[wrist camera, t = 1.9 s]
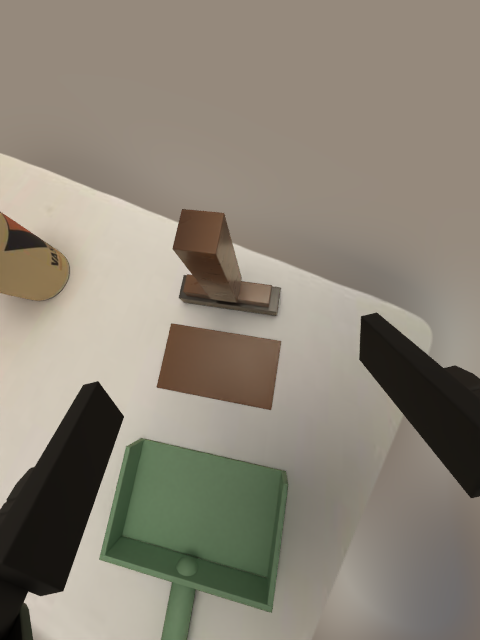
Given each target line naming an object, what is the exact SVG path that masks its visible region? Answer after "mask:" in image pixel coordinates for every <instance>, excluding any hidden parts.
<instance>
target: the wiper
mask: <svg viewBox="0 0 480 640" xmlns="http://www.w3.org/2000/svg"><path fill="white" fill-rule="evenodd" d="M173 250H174V251H175V253H176V254H177V255H178V257H179V258H180V259H181V260H182V262H183V263H184V264H185V266H186V267H187V268H188V270H189V271H190V272H191V273H192V275H188V274H187V275H184V277H183V281H182V286H181V290H180V295H179V298H180V299H181V300H182V301H183V302H186V303H192V304H199V305H206V306H213V307H220V308H227V309H233V310H240V311H247V312H254V313H261V314H267V315H274V316H276V315H277V309H278V303H279V296H280V289H281V288H279V287H272V285H265V284H257V283H250V282H242V281H241V279H242V277H241V274H240V270H239V266H238V263H237V259H236V255H235V252H234V248H233V244H232V240H231V237H230V233H229V229H228V226H227V222H226V218H225V215H224V213H218V212H207V211H196V210H186V209H182V212H181V216H180V220H179V224H178V228H177V232H176V236H175V241H174V245H173Z"/></svg>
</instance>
